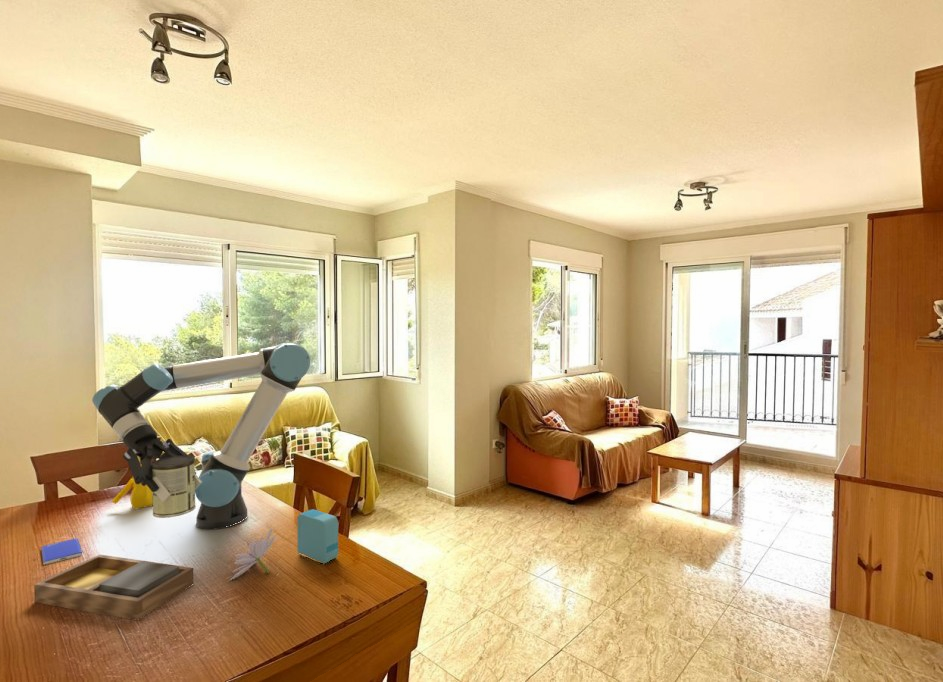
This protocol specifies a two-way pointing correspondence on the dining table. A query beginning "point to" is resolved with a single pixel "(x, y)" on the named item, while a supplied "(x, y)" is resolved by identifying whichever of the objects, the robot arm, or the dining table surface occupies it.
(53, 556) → the hard drive
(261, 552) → the water lily
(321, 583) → the dining table surface
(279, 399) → the robot arm
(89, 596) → the wooden tray
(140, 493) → the figure statuette
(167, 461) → the coffee can
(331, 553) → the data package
